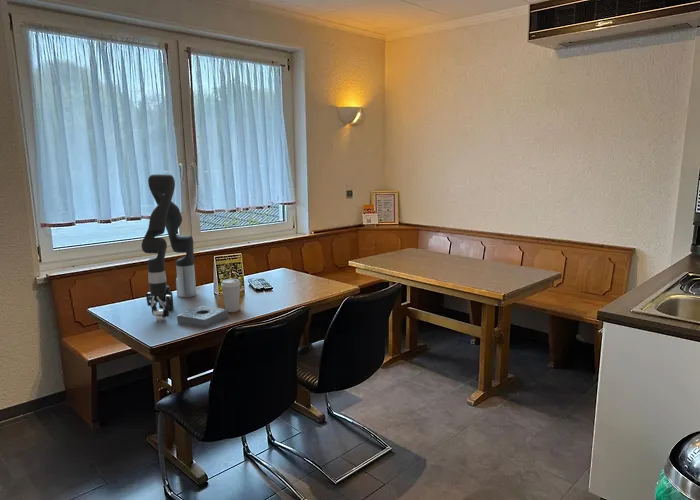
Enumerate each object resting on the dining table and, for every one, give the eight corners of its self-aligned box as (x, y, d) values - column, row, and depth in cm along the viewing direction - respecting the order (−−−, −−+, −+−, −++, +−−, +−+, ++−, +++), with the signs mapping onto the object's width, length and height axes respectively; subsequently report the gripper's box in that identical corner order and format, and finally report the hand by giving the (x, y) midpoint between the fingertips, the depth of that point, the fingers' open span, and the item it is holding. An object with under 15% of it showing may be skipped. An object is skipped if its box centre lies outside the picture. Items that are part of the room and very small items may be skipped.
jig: (177, 323, 227) (177, 315, 226) (201, 313, 241) (200, 305, 240) (205, 328, 220) (205, 319, 220) (228, 317, 235) (227, 309, 234)
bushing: (150, 322, 229) (149, 311, 228) (160, 318, 235) (159, 307, 234) (161, 323, 227) (160, 313, 226) (170, 319, 232) (170, 309, 231)
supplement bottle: (176, 308, 249) (174, 285, 247) (167, 312, 243) (165, 288, 241) (165, 307, 252) (163, 284, 249) (156, 311, 245) (154, 287, 243)
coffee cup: (232, 314, 239) (230, 284, 236) (218, 311, 244) (216, 281, 241) (246, 308, 247) (244, 279, 244) (232, 306, 252) (230, 277, 249)
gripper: (139, 281, 227) (142, 316, 230) (163, 284, 221) (166, 320, 224) (151, 277, 233) (154, 311, 236) (175, 280, 228) (178, 315, 231)
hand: (160, 315), depth 230 cm, fingers closed on bushing, 6 cm apart
